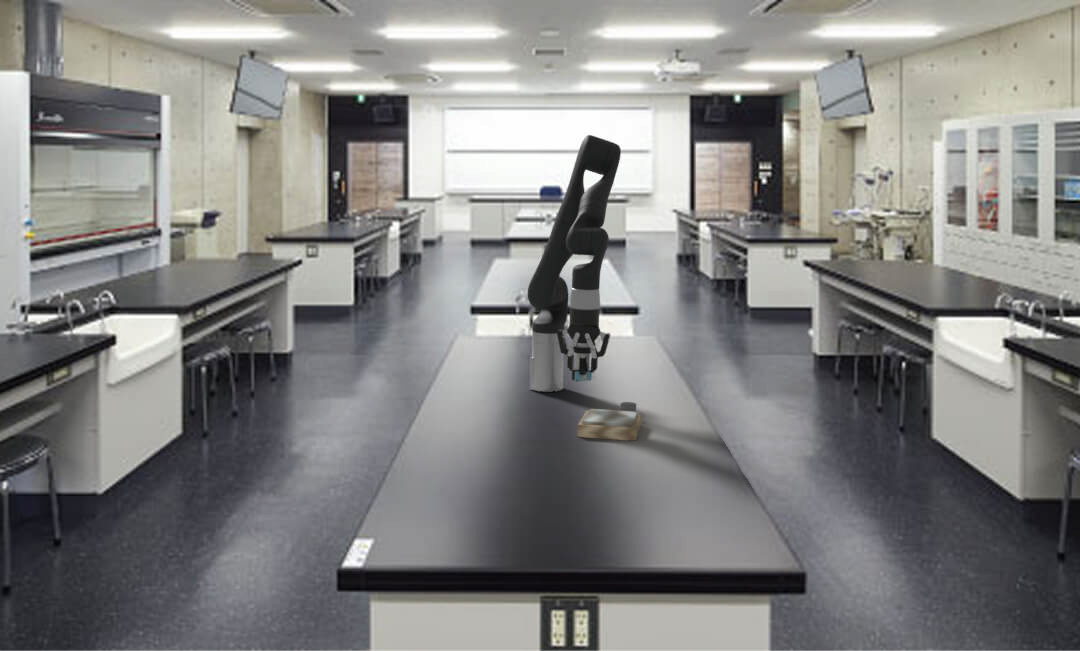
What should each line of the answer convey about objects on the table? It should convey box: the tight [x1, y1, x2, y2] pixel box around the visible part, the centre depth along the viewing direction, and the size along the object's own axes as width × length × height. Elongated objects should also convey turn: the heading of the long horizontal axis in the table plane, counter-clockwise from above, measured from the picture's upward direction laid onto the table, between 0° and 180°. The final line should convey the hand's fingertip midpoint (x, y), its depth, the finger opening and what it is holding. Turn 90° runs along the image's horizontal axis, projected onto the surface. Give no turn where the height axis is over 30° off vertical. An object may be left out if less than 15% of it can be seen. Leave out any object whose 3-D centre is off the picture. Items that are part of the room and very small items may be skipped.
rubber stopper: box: [620, 401, 637, 412], centre depth 250 cm, size 4×4×4 cm
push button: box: [571, 343, 597, 383], centre depth 247 cm, size 7×5×10 cm
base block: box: [576, 408, 642, 441], centre depth 238 cm, size 14×14×4 cm
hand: (582, 370), depth 247 cm, fingers closed on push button, 5 cm apart
